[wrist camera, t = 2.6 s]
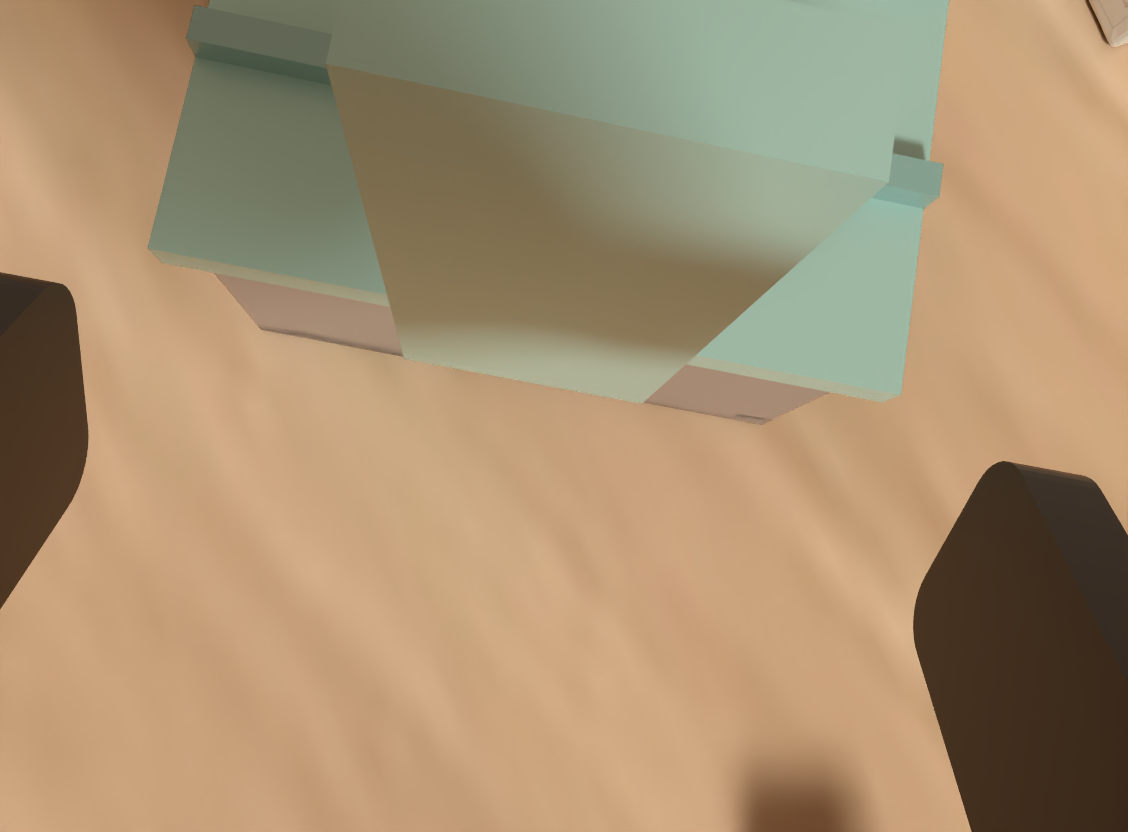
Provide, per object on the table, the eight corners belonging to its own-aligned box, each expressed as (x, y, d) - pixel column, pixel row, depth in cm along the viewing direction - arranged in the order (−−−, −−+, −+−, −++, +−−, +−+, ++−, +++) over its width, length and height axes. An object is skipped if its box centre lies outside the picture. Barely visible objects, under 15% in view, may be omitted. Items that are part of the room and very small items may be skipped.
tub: (821, 8, 26) (925, -153, 20) (761, 424, 25) (857, 379, 19) (357, -95, 26) (327, -294, 20) (260, 329, 24) (195, 251, 18)
